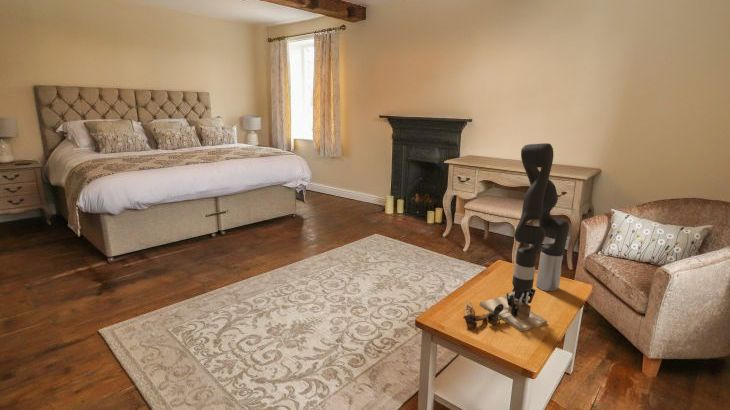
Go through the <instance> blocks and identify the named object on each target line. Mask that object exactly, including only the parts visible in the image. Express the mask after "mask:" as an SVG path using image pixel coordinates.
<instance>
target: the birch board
mask: <svg viewBox="0 0 730 410" xmlns="http://www.w3.org/2000/svg"><path fill="white" fill-rule="evenodd" d="M499 304H502V305H503V307H504V308H503V311H502V312H500V313H499V314H498V318H499V319H501V318H504V319H502V320H501V321H504V322H505V323H506V324H508V325H510V326H512V327H513V328H515V329H516V330H517V331H519V332H525V331H527V330H531V329H534V328H537V327H540V326H543V325H545V324H547V323H548V320H547V319H545V318H544V317H541V316H540V315H538V314H537V313H535V312H533V311H531V310H530V315H529V318H527V319H524V320H521V319H519V318H518V317H514V316H513V315H512V314H511V313H510V312H508V308H509V305H508V302H507V296H505V295H502V296H498V297H495V298H491V299H488V300H483V301H480V302H479V306H481V307H482V308H484V309H485V310H487V311H489V313H493V312H494V309H495V307H496V306H498V305H499Z"/></svg>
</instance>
